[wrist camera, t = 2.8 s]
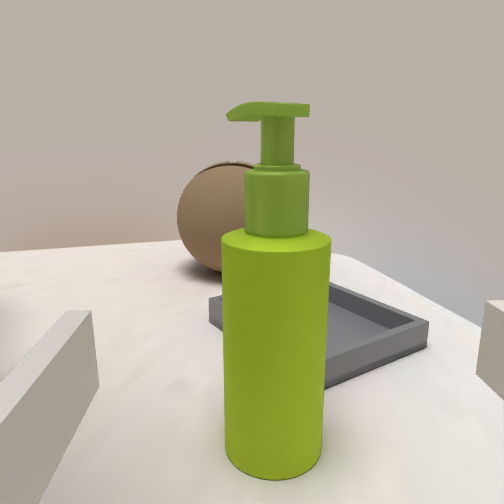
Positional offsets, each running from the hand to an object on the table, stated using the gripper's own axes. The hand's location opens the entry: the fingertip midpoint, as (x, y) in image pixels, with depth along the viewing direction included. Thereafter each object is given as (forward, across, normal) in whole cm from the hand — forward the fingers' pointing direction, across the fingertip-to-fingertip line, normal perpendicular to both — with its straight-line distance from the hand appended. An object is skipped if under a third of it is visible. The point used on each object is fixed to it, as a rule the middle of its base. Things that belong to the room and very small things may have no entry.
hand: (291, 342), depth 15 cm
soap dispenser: (+10, 0, -12) cm, 16 cm away
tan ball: (+45, -2, -12) cm, 46 cm away
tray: (+25, +6, -12) cm, 28 cm away
